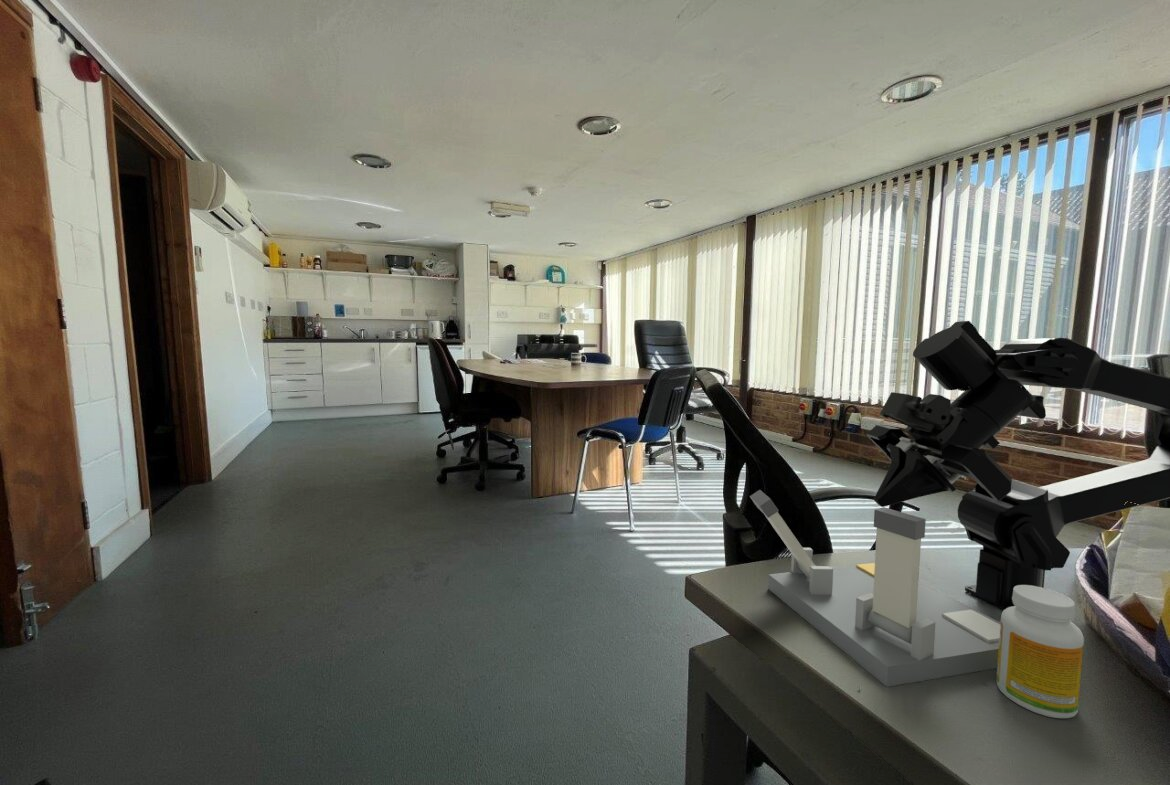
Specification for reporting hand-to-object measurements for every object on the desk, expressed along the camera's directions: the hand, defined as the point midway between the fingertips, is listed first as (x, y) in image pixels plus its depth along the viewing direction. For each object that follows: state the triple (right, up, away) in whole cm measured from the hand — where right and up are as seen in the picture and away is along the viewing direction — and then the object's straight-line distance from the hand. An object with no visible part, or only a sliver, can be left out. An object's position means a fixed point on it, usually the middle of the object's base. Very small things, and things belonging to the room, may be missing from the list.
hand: (877, 503), depth 60 cm
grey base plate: (-2, -13, -4) cm, 13 cm away
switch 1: (-8, -9, +1) cm, 12 cm away
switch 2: (-5, -10, -11) cm, 16 cm away
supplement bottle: (+4, -14, -17) cm, 22 cm away
